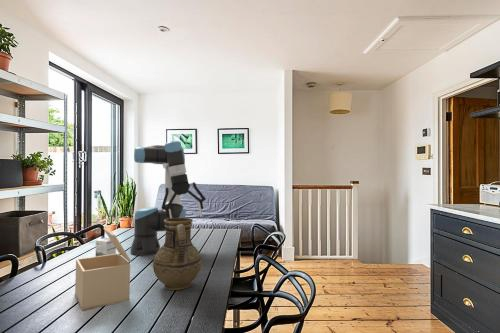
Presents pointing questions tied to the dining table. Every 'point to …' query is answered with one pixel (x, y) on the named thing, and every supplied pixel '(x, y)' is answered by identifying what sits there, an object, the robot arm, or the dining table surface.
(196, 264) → the decorative pitcher
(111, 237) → the lid flap
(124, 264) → the carton
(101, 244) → the syrup box
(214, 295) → the dining table surface
